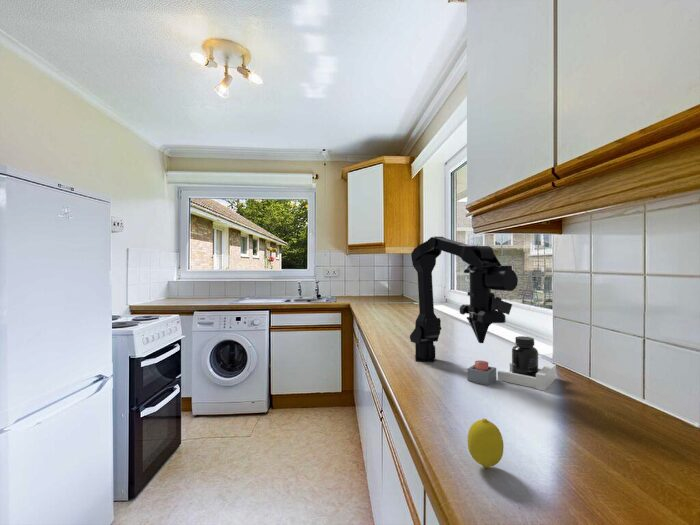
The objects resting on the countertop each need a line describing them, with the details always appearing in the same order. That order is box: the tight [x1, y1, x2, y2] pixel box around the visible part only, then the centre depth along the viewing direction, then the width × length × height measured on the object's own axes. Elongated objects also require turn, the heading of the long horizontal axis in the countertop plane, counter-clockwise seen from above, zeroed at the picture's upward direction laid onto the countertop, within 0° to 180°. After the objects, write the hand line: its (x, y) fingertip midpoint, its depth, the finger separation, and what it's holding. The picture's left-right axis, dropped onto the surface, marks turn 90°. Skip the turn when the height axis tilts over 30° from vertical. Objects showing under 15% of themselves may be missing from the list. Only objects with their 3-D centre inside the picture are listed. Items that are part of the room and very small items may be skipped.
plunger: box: [474, 360, 489, 371], centre depth 98 cm, size 4×4×4 cm
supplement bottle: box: [511, 335, 539, 377], centre depth 99 cm, size 7×7×12 cm
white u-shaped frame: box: [497, 362, 557, 391], centre depth 99 cm, size 12×13×4 cm
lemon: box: [467, 417, 504, 469], centre depth 56 cm, size 6×6×8 cm
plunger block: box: [466, 364, 497, 386], centre depth 98 cm, size 6×6×4 cm
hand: (481, 342), depth 99 cm, fingers closed
